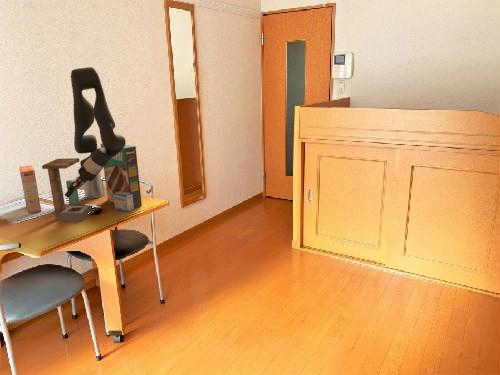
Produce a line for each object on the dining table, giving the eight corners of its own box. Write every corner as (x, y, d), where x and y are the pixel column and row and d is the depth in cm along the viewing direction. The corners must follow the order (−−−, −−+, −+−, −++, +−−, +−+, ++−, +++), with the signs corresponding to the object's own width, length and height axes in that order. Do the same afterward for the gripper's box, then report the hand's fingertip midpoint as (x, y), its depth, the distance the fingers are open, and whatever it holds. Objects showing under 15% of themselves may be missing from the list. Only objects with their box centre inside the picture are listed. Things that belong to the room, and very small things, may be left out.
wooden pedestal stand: (66, 212, 188) (57, 158, 181) (86, 212, 188) (79, 158, 181) (52, 223, 175) (41, 165, 167) (74, 222, 175) (65, 165, 167)
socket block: (70, 213, 186) (69, 206, 185) (91, 213, 186) (90, 205, 185) (60, 221, 177) (59, 213, 176) (82, 221, 177) (81, 212, 176)
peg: (75, 202, 182) (72, 179, 179) (81, 203, 180) (78, 180, 177) (67, 204, 179) (63, 181, 176) (73, 206, 177) (69, 182, 174)
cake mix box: (107, 200, 206) (100, 143, 197) (118, 197, 210) (111, 141, 202) (131, 208, 192) (124, 148, 184) (141, 205, 197) (135, 146, 188)
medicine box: (114, 210, 190) (112, 193, 187) (120, 207, 194) (118, 190, 191) (128, 212, 187) (126, 194, 185) (134, 209, 191) (132, 192, 189)
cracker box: (42, 211, 190) (34, 169, 185) (28, 214, 187) (20, 171, 181) (39, 204, 202) (32, 164, 196) (26, 206, 199) (18, 166, 193)
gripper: (91, 159, 181) (69, 185, 185) (77, 166, 167) (54, 194, 171) (103, 170, 182) (81, 195, 186) (91, 178, 169) (68, 205, 172)
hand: (68, 194), depth 178 cm, fingers closed on peg, 4 cm apart
